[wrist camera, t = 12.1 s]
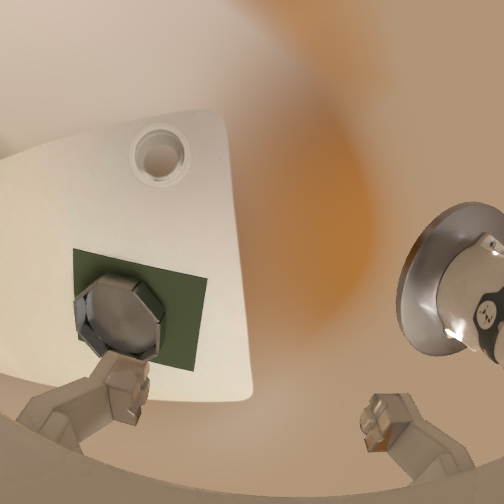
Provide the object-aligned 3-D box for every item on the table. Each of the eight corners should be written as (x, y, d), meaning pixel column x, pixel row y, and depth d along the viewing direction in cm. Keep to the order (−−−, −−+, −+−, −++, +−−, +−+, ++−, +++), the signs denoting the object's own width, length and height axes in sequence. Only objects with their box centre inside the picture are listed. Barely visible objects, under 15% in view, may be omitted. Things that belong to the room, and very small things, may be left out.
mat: (207, 278, 39) (207, 279, 39) (193, 371, 44) (193, 371, 43) (73, 248, 37) (73, 248, 37) (78, 339, 42) (78, 339, 42)
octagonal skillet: (86, 263, 38) (70, 275, 34) (170, 282, 39) (161, 298, 34) (94, 369, 44) (84, 386, 40) (164, 389, 45) (157, 409, 40)
